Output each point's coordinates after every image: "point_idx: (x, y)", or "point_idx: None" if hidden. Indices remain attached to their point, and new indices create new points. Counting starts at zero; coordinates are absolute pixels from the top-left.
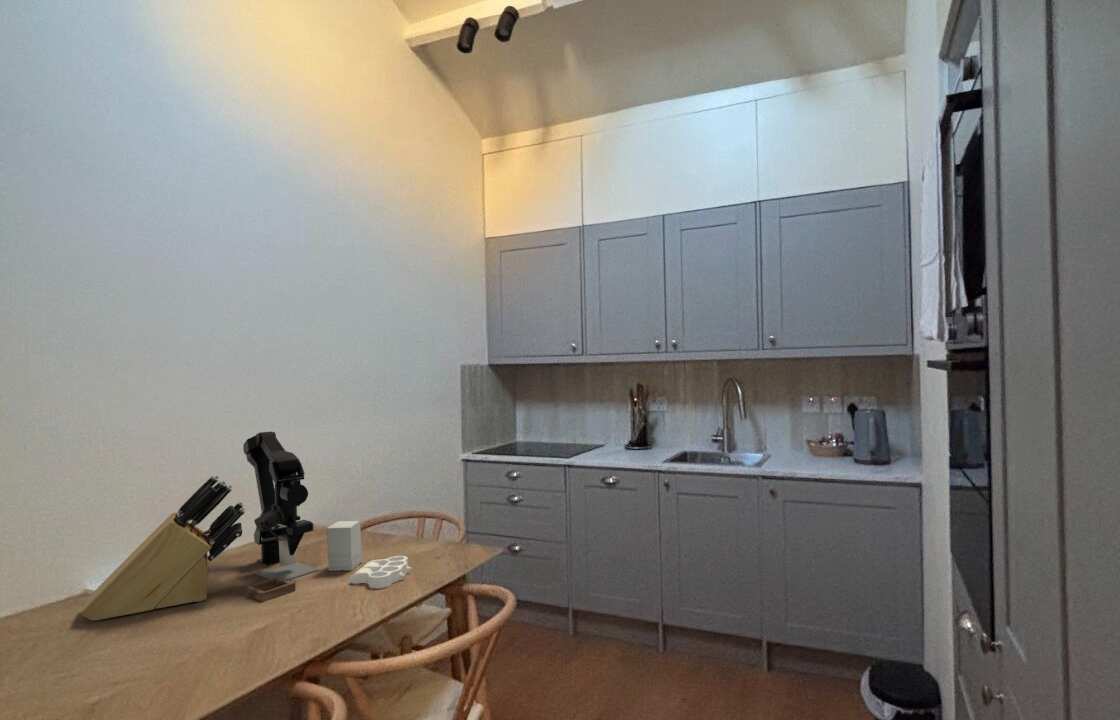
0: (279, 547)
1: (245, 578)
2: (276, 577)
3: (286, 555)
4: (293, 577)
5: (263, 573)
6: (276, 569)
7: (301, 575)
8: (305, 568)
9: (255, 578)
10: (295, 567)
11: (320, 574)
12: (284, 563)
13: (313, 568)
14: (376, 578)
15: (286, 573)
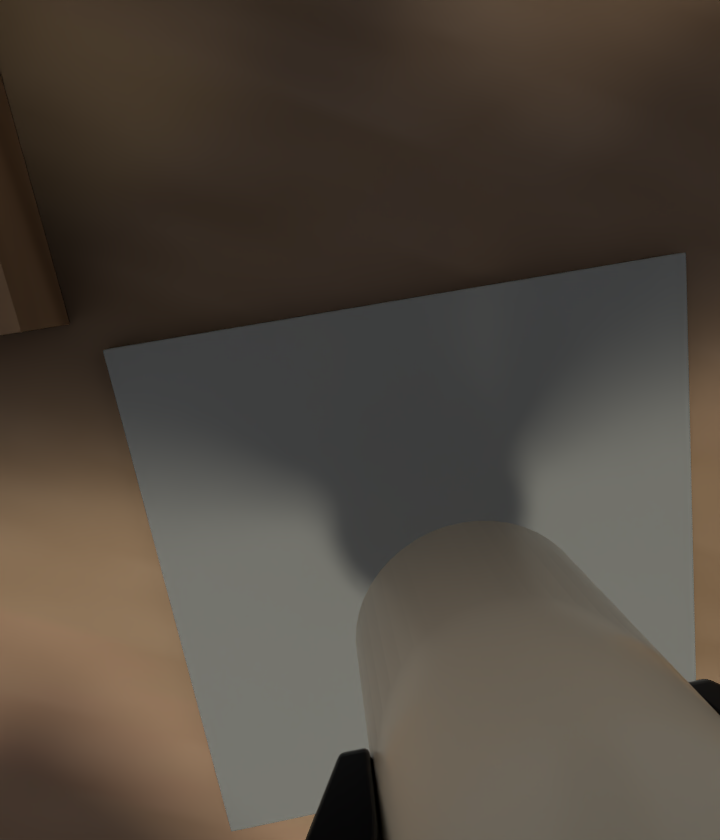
0: (638, 729)
1: (684, 85)
2: (5, 305)
3: (387, 691)
4: (154, 541)
5: (636, 320)
6: (645, 490)
7: (181, 634)
8: None
9: (566, 187)
10: None
11: (70, 791)
12: (396, 573)
13: (311, 796)
14: None
15: (384, 528)
